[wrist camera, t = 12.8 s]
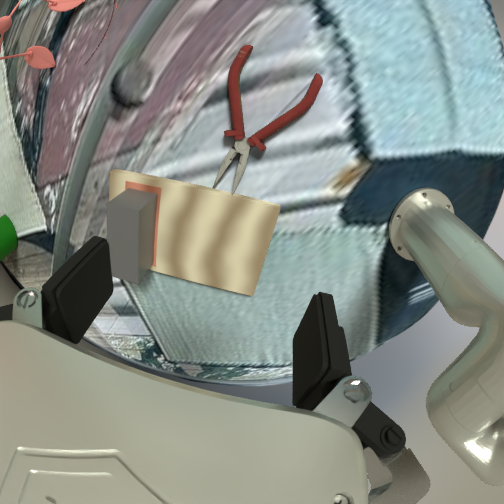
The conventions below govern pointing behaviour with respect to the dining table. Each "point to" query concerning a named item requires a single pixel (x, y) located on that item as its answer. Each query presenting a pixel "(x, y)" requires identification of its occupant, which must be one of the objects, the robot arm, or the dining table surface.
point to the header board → (205, 231)
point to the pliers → (245, 143)
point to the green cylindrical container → (7, 237)
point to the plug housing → (131, 233)
